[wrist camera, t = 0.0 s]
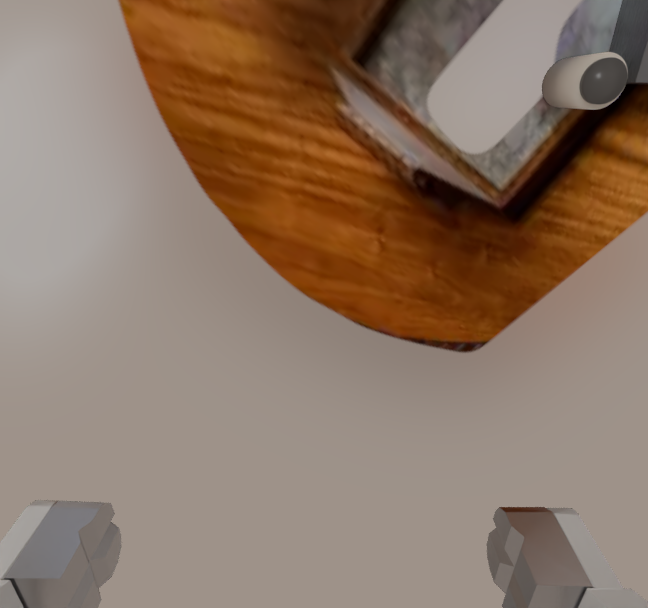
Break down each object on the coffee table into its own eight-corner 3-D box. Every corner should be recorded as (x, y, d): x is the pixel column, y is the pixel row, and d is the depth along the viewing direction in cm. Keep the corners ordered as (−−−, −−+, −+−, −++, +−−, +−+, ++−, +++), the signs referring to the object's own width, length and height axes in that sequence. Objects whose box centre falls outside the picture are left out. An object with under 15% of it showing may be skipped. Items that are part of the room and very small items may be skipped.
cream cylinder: (548, 57, 47) (586, 50, 40) (593, 57, 47) (640, 51, 40) (537, 107, 49) (572, 109, 42) (581, 107, 49) (623, 110, 42)
